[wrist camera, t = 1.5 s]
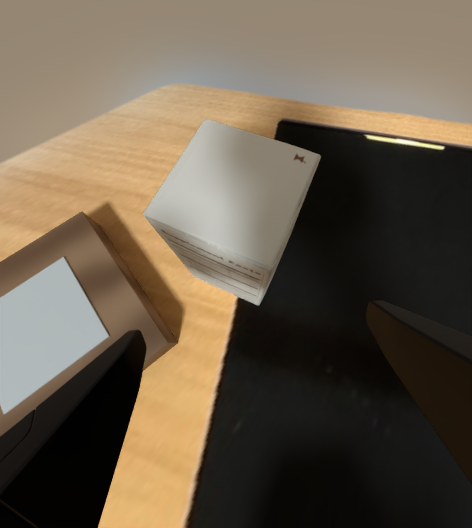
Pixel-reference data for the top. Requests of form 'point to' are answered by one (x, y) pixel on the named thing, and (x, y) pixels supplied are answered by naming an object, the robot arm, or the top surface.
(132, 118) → the top surface
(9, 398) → the plinth
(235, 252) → the supplement box
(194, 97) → the top surface
